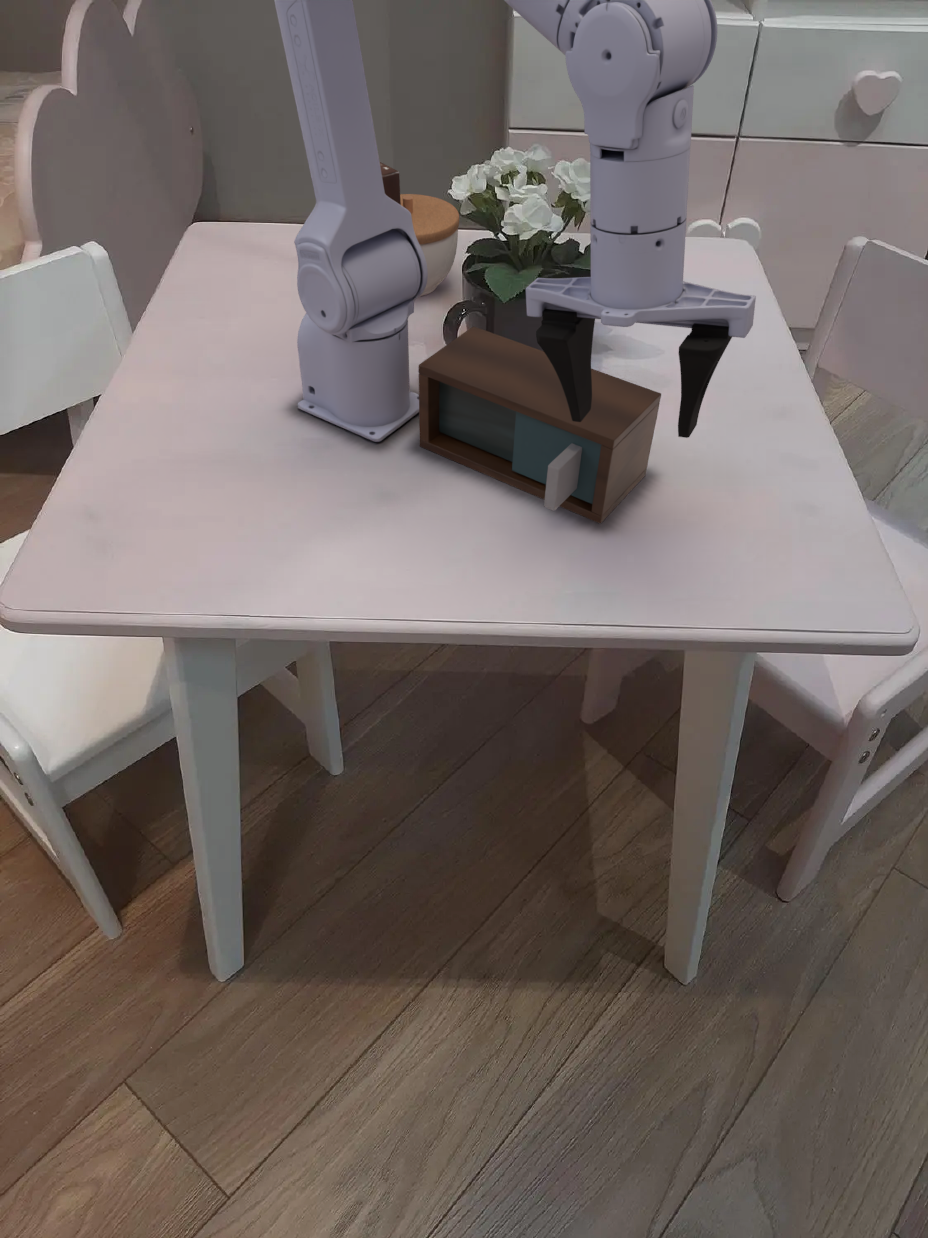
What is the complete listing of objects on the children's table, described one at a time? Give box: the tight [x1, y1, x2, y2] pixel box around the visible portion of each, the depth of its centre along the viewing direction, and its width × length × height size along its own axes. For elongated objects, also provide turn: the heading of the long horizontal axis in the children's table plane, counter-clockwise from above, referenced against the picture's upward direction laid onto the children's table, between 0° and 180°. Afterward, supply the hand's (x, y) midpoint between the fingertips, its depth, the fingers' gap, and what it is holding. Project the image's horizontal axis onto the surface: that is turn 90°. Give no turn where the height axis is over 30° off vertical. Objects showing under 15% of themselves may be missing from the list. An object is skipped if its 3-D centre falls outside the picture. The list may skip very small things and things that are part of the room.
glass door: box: [512, 411, 601, 512], centre depth 73 cm, size 4×8×6 cm, turn 56°
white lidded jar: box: [400, 193, 460, 297], centre depth 100 cm, size 11×11×9 cm
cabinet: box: [418, 326, 662, 525], centre depth 78 cm, size 8×18×8 cm, turn 56°
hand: (633, 422), depth 65 cm, fingers open, 7 cm apart
